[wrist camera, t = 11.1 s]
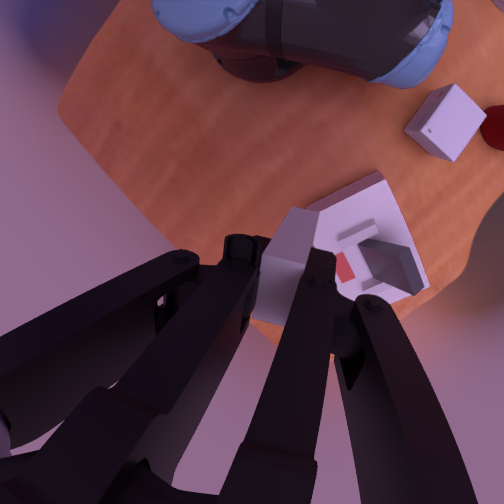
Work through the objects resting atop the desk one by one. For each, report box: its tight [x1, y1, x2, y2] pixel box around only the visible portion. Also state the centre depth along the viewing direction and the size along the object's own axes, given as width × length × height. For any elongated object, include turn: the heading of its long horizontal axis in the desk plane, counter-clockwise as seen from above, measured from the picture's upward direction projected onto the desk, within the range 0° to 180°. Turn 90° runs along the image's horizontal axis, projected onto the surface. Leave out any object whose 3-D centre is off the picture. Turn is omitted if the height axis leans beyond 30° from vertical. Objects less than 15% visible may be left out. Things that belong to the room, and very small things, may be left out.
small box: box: [404, 83, 487, 162], centre depth 32 cm, size 8×6×10 cm
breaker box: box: [306, 170, 430, 304], centre depth 42 cm, size 12×16×10 cm
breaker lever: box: [358, 238, 424, 296], centre depth 34 cm, size 2×5×10 cm, turn 32°
